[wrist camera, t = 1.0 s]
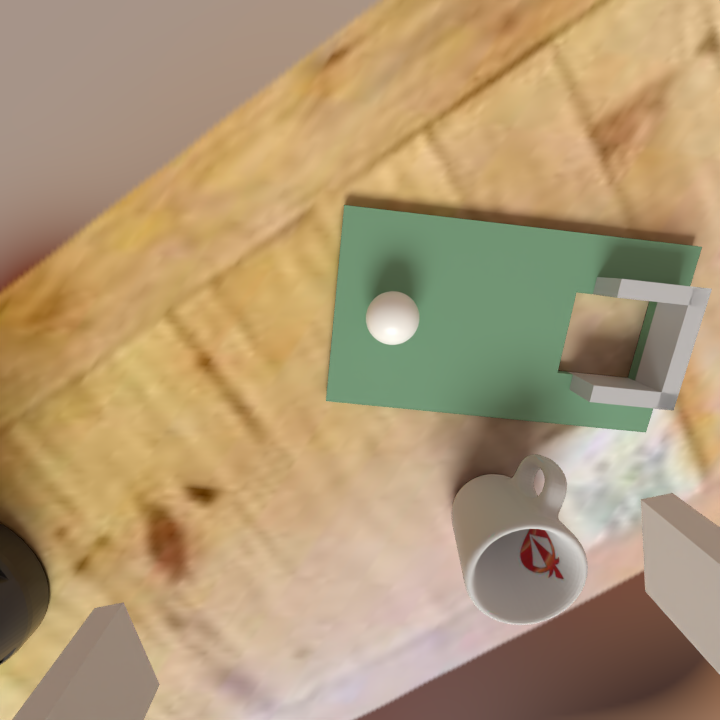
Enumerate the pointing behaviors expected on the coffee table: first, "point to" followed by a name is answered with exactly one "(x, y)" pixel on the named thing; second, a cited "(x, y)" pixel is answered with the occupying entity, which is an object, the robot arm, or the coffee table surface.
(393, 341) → the ball
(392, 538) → the coffee table surface
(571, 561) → the cup
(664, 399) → the white u-shaped bracket
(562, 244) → the green mat
